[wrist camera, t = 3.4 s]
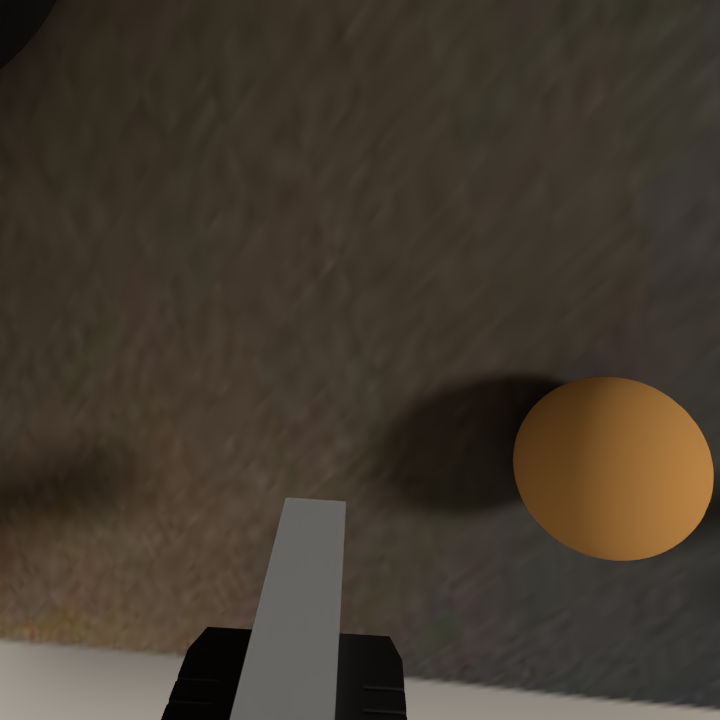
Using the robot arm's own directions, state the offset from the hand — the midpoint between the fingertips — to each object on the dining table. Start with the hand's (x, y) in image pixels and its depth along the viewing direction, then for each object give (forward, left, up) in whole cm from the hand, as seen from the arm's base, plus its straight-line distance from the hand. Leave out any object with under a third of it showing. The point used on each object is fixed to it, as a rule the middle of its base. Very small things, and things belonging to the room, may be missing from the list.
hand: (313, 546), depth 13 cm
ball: (+8, +5, -5) cm, 11 cm away
